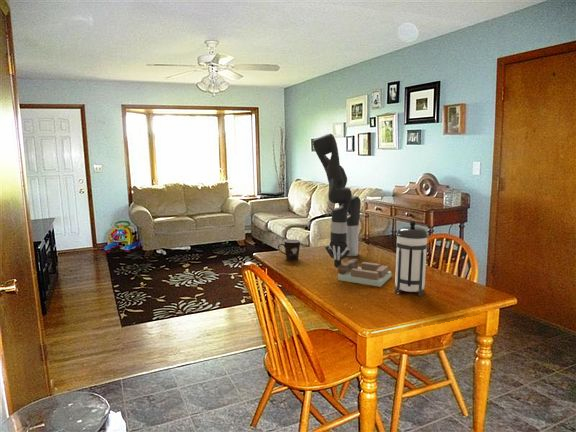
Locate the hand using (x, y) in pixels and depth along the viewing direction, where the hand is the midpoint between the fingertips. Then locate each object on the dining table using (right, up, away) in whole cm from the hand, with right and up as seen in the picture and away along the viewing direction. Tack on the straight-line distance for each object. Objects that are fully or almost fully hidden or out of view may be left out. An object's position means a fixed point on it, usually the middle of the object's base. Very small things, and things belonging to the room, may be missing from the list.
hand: (337, 267), depth 203 cm
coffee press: (+28, -8, -21) cm, 36 cm away
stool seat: (+12, -5, -2) cm, 13 cm away
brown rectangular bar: (+5, -1, +2) cm, 6 cm away
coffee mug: (-22, 0, +32) cm, 39 cm away
